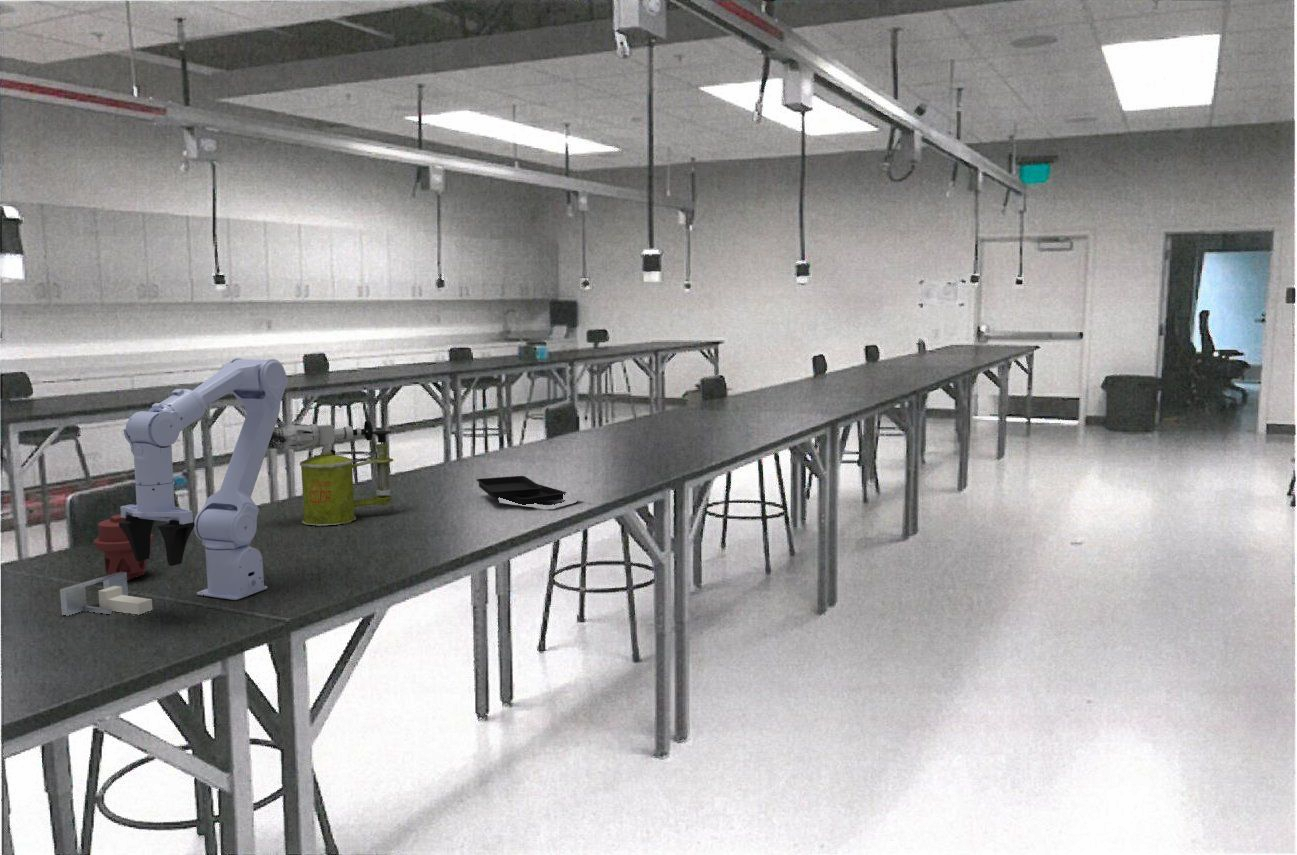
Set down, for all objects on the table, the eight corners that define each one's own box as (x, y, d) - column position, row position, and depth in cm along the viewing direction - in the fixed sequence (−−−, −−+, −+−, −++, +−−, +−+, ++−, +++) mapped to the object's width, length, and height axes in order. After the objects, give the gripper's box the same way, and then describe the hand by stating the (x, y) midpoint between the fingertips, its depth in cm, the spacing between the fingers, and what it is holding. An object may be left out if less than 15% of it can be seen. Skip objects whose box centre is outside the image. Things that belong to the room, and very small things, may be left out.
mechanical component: (88, 579, 190) (141, 568, 198) (110, 588, 184) (164, 576, 192) (83, 516, 189) (137, 508, 197) (105, 524, 183) (160, 515, 190)
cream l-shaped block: (153, 611, 171) (152, 591, 170) (137, 616, 168) (136, 596, 167) (111, 604, 174) (109, 585, 174) (94, 610, 171) (93, 590, 171)
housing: (152, 600, 177) (150, 575, 176) (92, 620, 166) (90, 593, 165) (122, 596, 179) (120, 571, 179) (61, 615, 168) (59, 589, 168)
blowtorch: (403, 518, 244) (399, 417, 241) (264, 534, 227) (258, 427, 223) (387, 508, 255) (383, 413, 252) (253, 524, 238) (247, 421, 234)
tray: (590, 499, 266) (590, 480, 266) (549, 516, 245) (548, 496, 245) (496, 491, 278) (495, 473, 278) (448, 507, 257) (447, 487, 256)
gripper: (102, 483, 164) (107, 563, 166) (166, 489, 158) (170, 571, 160) (139, 477, 171) (143, 554, 172) (201, 482, 165) (205, 562, 166)
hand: (158, 562), depth 166 cm, fingers open, 7 cm apart
